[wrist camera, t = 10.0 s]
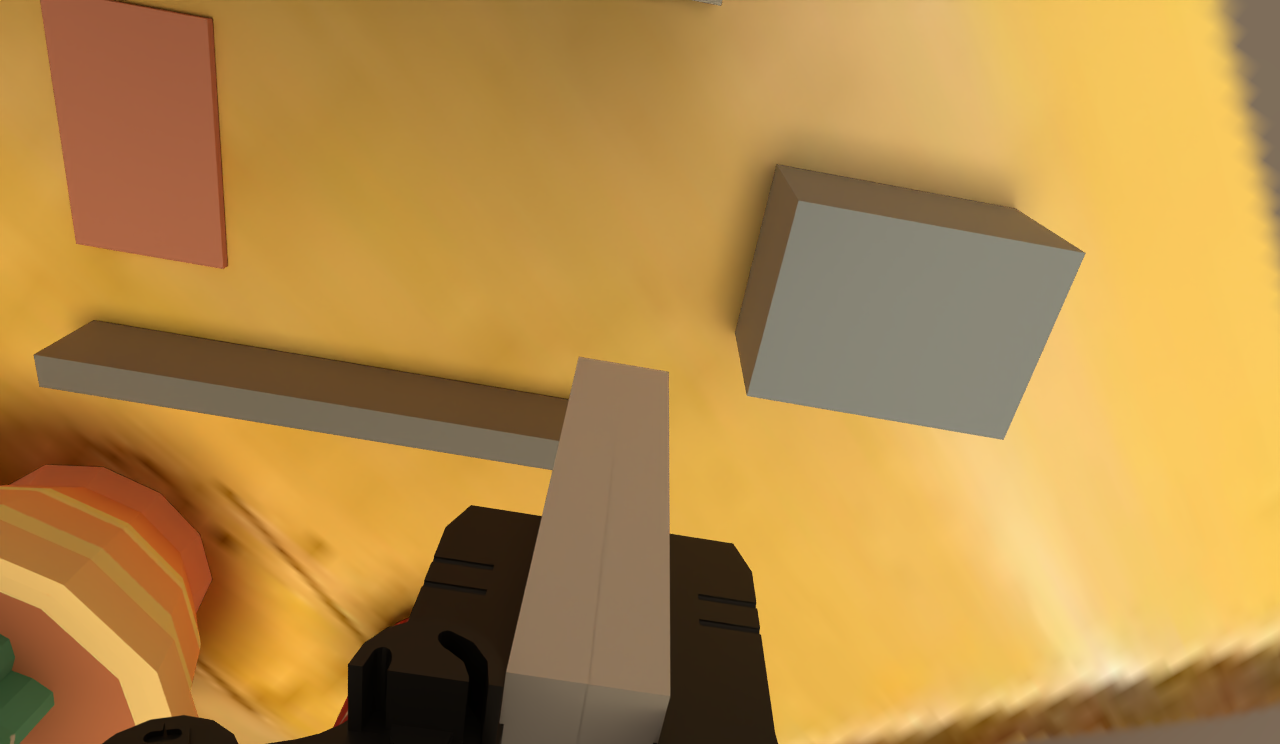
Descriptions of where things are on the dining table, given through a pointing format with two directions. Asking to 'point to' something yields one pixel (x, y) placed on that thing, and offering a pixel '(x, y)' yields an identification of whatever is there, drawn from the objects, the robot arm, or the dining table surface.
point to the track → (220, 256)
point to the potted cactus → (94, 606)
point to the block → (898, 302)
